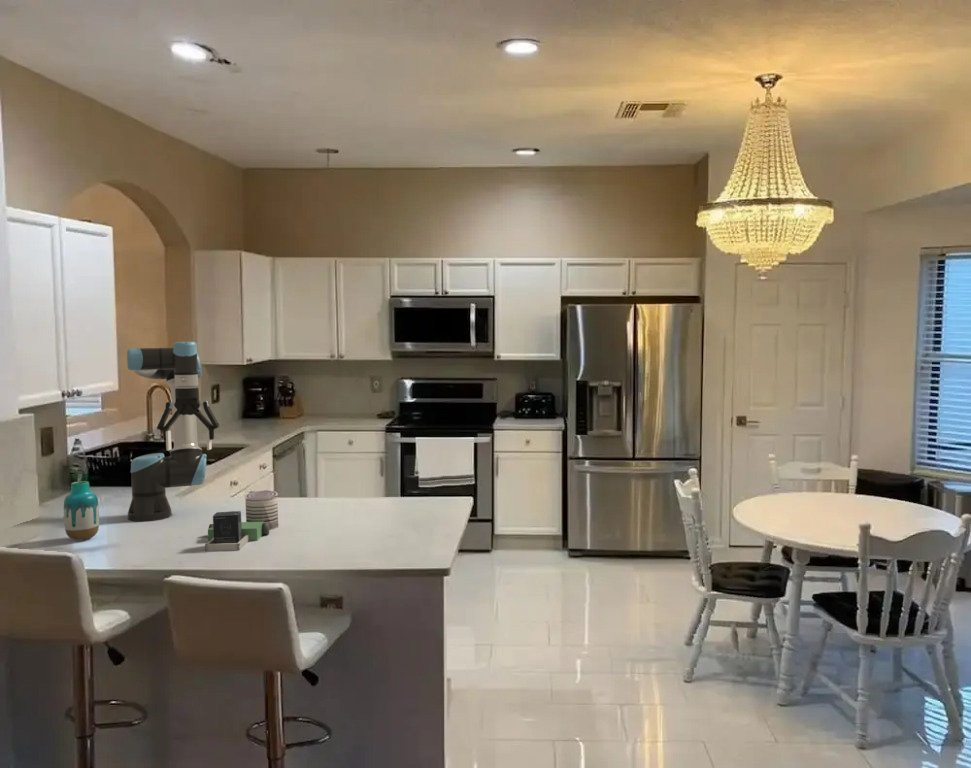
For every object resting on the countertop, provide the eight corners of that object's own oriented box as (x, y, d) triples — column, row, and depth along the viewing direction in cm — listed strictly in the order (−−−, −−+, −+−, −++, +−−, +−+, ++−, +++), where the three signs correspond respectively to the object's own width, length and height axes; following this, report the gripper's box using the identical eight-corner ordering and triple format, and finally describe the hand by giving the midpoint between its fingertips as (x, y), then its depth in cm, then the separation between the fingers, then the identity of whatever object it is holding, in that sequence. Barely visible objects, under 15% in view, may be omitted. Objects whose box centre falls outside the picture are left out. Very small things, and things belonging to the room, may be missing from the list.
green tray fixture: (191, 551, 262) (190, 525, 262) (212, 534, 284) (211, 511, 283) (253, 549, 262) (252, 524, 262) (269, 533, 284) (269, 509, 284)
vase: (77, 544, 273) (74, 486, 272) (58, 540, 279) (55, 483, 277) (106, 537, 282) (104, 481, 281) (88, 534, 288) (85, 478, 286)
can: (285, 524, 297) (284, 491, 296) (267, 532, 286) (265, 497, 285) (257, 522, 300) (256, 489, 300) (238, 530, 290) (237, 495, 289)
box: (242, 542, 272) (241, 510, 271) (239, 547, 266) (238, 514, 265) (217, 544, 271) (216, 511, 270) (213, 548, 265) (212, 515, 264)
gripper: (145, 388, 279) (147, 452, 280) (220, 387, 279) (223, 450, 280) (153, 387, 286) (156, 449, 287) (227, 385, 287) (229, 447, 288)
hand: (189, 449), depth 284 cm, fingers open, 13 cm apart
